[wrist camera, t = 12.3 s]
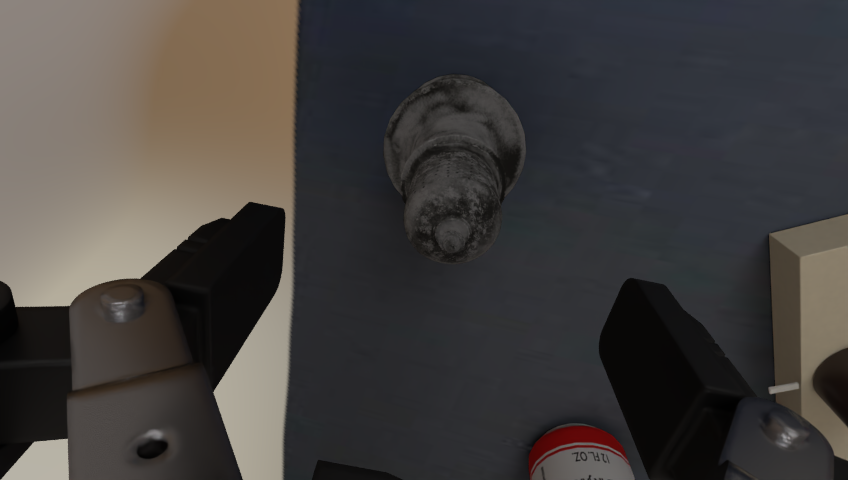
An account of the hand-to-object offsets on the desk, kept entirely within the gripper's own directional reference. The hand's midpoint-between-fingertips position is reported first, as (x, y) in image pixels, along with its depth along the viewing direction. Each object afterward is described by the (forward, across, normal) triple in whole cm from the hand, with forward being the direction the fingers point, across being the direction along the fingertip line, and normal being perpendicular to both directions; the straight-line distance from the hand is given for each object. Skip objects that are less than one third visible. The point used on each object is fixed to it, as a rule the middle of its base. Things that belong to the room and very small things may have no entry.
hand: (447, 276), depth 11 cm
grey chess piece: (+13, 0, 0) cm, 13 cm away
